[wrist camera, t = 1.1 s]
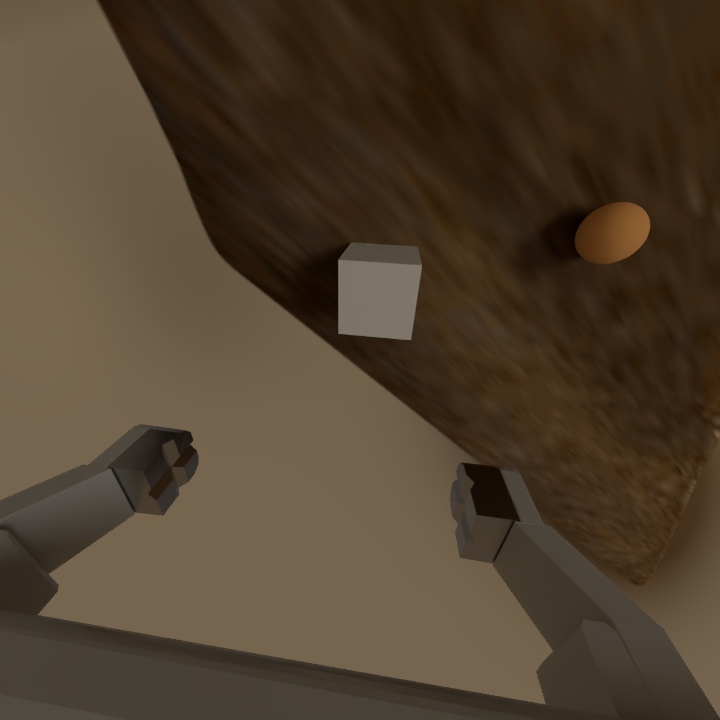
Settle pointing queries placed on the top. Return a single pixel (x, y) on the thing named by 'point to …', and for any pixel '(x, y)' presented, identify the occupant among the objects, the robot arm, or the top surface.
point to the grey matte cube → (378, 290)
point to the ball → (612, 232)
